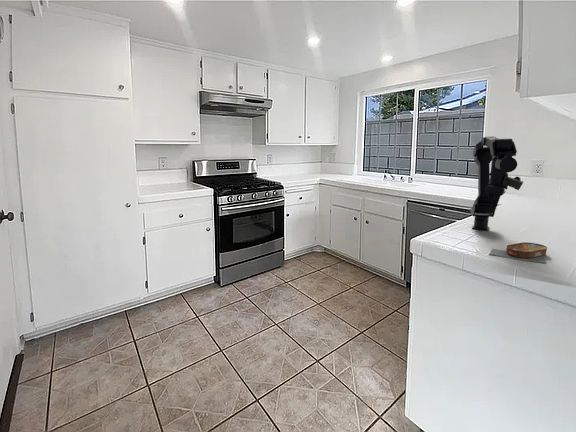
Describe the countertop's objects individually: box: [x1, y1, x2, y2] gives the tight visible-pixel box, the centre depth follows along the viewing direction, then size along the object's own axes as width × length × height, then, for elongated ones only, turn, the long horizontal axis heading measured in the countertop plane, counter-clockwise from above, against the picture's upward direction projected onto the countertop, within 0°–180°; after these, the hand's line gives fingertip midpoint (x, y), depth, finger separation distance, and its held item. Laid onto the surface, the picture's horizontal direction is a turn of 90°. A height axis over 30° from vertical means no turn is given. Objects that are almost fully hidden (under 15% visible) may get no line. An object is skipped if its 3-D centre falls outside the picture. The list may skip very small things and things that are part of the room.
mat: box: [489, 248, 546, 264], centre depth 115 cm, size 8×16×1 cm, turn 52°
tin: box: [505, 241, 548, 258], centre depth 116 cm, size 15×3×8 cm
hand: (494, 208), depth 134 cm, fingers closed
